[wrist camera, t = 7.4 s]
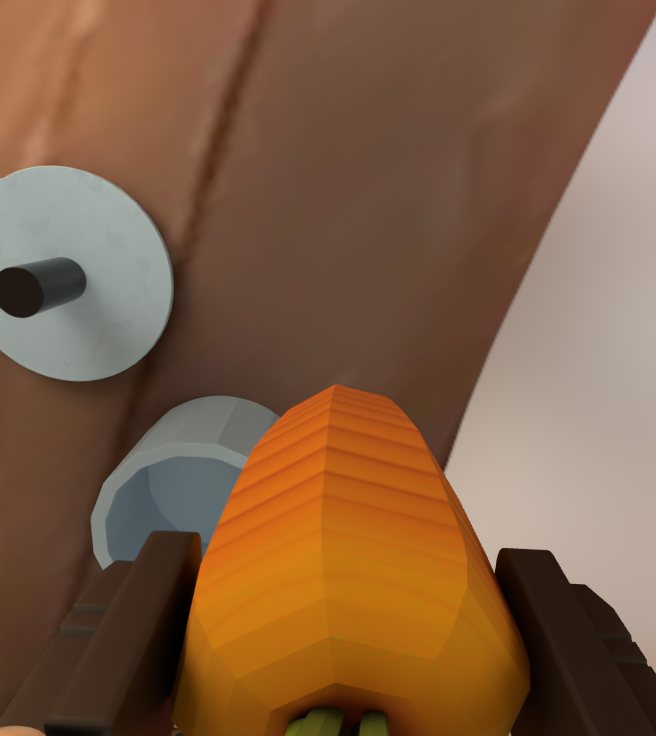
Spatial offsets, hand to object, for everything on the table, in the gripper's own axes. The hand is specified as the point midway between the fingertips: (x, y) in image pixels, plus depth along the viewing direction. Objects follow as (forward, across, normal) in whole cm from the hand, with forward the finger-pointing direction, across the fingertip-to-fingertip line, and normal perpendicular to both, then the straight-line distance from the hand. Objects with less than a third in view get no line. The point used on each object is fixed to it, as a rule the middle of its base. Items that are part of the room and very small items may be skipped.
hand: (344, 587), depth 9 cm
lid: (+25, +16, -1) cm, 30 cm away
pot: (+26, +7, +12) cm, 29 cm away
